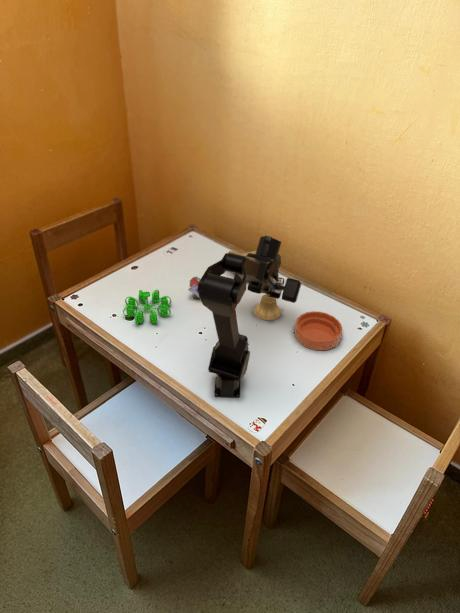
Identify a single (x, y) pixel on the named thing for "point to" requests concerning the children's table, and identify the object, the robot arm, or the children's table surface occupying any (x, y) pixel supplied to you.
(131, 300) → the chandelier
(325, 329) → the bowl
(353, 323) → the children's table surface
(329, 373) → the children's table surface
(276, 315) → the hand bell
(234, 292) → the robot arm
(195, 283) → the geometric puzzle
